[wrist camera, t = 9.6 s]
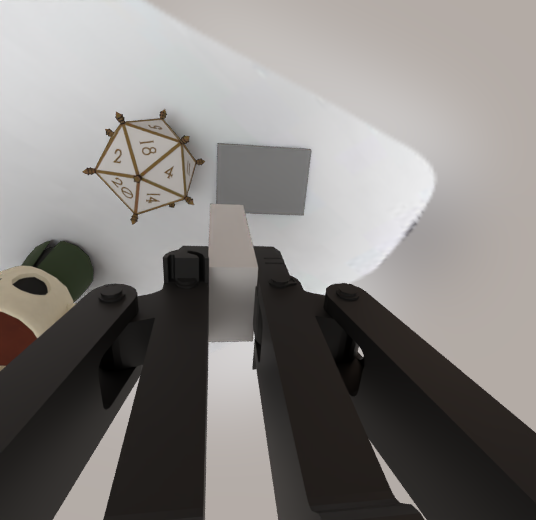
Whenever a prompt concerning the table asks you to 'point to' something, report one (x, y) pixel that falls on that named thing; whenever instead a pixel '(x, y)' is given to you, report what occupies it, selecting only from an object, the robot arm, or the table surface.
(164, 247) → the table surface
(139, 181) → the game die
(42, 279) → the character mug
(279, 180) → the grey rubber mat
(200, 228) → the table surface
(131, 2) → the table surface
